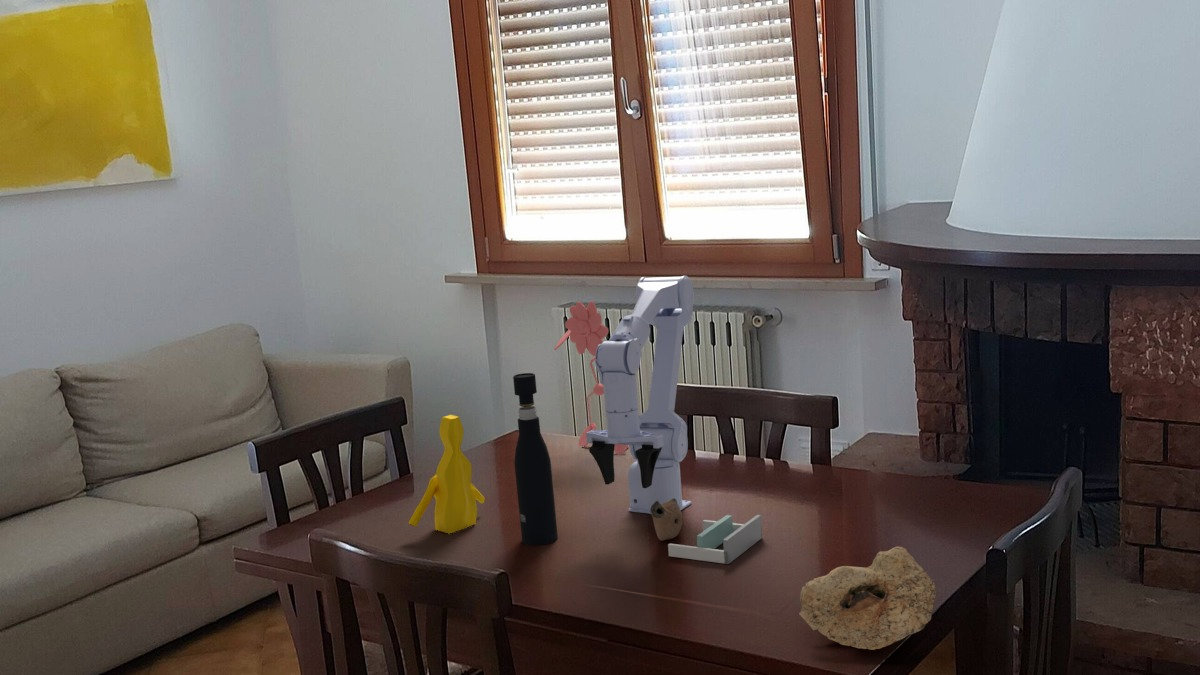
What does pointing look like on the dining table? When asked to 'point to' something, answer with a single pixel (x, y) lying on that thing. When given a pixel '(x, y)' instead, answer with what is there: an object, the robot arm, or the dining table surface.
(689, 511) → the dining table surface
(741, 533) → the pusher lane
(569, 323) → the figurine
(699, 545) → the panel
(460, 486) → the figure statuette
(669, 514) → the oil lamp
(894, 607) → the tan rock
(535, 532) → the black water bottle
